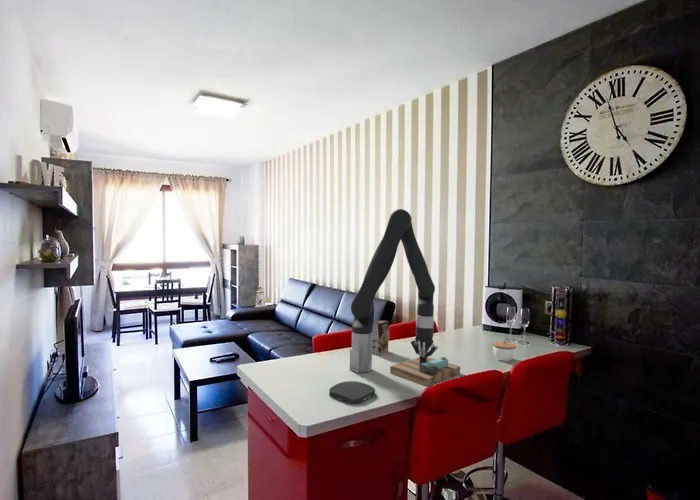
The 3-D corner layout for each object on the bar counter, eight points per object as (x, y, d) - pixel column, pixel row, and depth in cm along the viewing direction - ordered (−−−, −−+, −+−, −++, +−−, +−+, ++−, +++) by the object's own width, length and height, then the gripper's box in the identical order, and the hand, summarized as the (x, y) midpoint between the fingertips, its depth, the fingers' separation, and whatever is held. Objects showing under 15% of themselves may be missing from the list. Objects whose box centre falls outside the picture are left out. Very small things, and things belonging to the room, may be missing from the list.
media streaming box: (349, 385, 157) (349, 377, 157) (379, 395, 147) (379, 387, 147) (324, 396, 145) (325, 388, 145) (355, 407, 136) (355, 399, 136)
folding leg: (442, 364, 174) (442, 356, 174) (448, 366, 172) (448, 358, 172) (419, 371, 165) (419, 362, 165) (424, 373, 162) (424, 364, 162)
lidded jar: (517, 363, 187) (518, 344, 187) (494, 362, 189) (495, 343, 189) (513, 357, 198) (513, 339, 197) (490, 355, 200) (491, 337, 199)
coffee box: (379, 355, 197) (380, 323, 196) (368, 352, 201) (369, 322, 200) (388, 351, 204) (389, 320, 203) (378, 349, 208) (379, 319, 207)
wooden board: (427, 386, 156) (427, 372, 156) (390, 372, 171) (390, 360, 171) (459, 373, 172) (460, 361, 172) (423, 362, 187) (423, 350, 187)
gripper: (407, 323, 170) (405, 362, 171) (433, 329, 161) (431, 370, 161) (417, 321, 175) (415, 359, 176) (442, 327, 166) (441, 367, 167)
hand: (423, 364), depth 169 cm, fingers closed
